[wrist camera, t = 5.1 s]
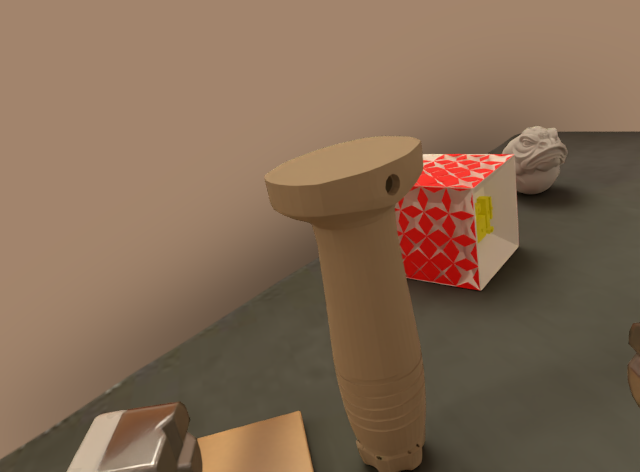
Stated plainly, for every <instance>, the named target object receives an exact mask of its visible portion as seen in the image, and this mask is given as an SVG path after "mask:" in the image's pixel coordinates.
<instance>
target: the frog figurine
mask: <svg viewBox="0 0 640 472" xmlns="http://www.w3.org/2000/svg"><path fill="white" fill-rule="evenodd" d="M567 152H568V151H567V149H566V146H565V145H564V144H562V143H561V141H560V139H559V138H558V135H557V130H556V129H555V128H549V129H545V128H543V127H540V126H534V127H533V128H527V129H525V130H524V131H523V132H522V134H521V135H520V136H518V137H517V138H515V139H513V140H512V141H511V142H510V143H509V144H508V145H507V147H506V148H505V149H504V150H503V153H502V154H515V172H516V190H517V191H518V192H521V193H524V194H538V193H541V192H543V191H545V190H547V189H548V188H549V187H550V186H551V185H552V184H553V183H554V181H555V180H556V178H557V176H558V175H559V173H560V165H561V164H563V163H564V161H565V159H566V156H567Z"/></svg>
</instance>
